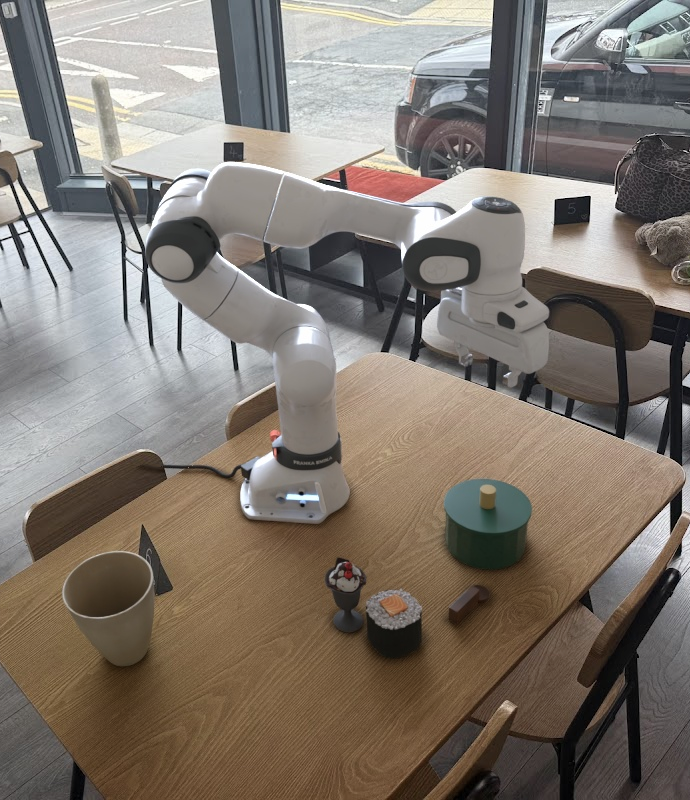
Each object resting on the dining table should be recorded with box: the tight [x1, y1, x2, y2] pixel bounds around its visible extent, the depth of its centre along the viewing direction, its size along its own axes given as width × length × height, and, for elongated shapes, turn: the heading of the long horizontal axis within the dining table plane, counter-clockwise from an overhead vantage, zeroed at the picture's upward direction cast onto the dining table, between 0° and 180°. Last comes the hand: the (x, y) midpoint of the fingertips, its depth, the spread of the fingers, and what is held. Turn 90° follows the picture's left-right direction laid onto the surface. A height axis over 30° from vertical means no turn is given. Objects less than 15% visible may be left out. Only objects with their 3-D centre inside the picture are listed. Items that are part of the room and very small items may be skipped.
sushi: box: [365, 588, 423, 660], centre depth 126 cm, size 8×8×8 cm
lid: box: [443, 478, 533, 536], centre depth 138 cm, size 15×15×5 cm
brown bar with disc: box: [448, 584, 491, 625], centre depth 131 cm, size 9×3×3 cm, turn 131°
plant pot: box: [61, 550, 155, 667], centre depth 131 cm, size 15×15×16 cm
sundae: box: [324, 556, 367, 633], centre depth 129 cm, size 7×7×15 cm
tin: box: [444, 513, 529, 570], centre depth 141 cm, size 14×14×8 cm
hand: (487, 374), depth 131 cm, fingers open, 8 cm apart
